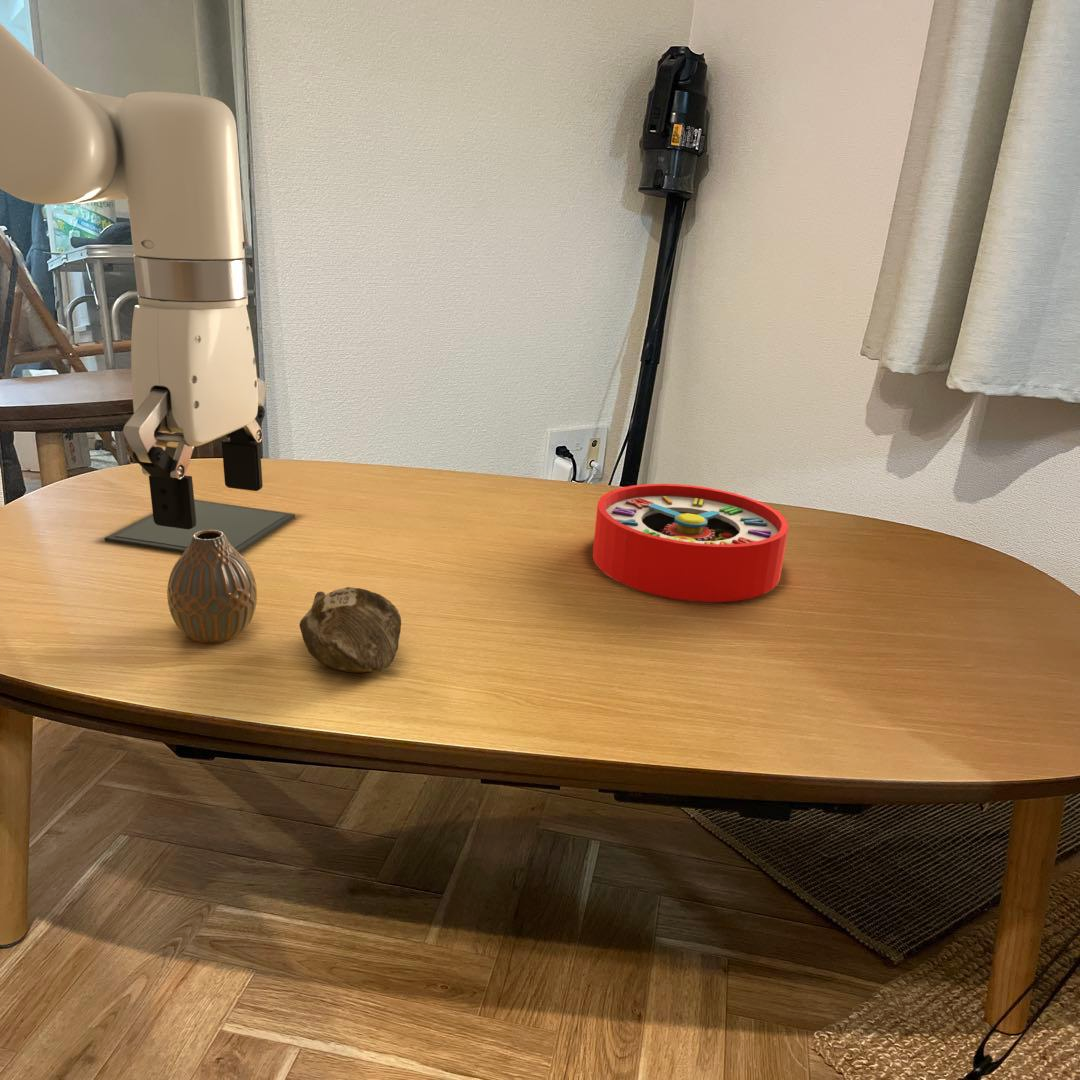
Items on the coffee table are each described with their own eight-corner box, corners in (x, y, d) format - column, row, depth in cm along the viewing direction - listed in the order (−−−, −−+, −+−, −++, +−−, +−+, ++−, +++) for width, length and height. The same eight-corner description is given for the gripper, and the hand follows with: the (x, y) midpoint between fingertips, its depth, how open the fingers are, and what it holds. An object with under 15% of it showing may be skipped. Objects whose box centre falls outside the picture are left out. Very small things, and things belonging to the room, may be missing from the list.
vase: (276, 629, 76) (272, 533, 73) (210, 660, 71) (203, 557, 68) (219, 607, 79) (213, 514, 76) (152, 636, 74) (143, 536, 71)
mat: (104, 542, 92) (104, 537, 92) (184, 502, 105) (184, 497, 104) (229, 561, 89) (228, 556, 89) (295, 518, 102) (295, 513, 102)
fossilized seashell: (303, 598, 77) (275, 673, 68) (341, 543, 74) (317, 614, 65) (379, 639, 79) (362, 716, 70) (419, 587, 76) (406, 661, 68)
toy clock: (709, 562, 81) (558, 502, 95) (701, 620, 83) (554, 553, 97) (826, 522, 94) (678, 474, 108) (816, 573, 96) (672, 520, 110)
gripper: (211, 271, 74) (227, 471, 80) (63, 289, 58) (97, 537, 64) (296, 278, 72) (305, 481, 78) (167, 297, 56) (191, 550, 63)
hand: (211, 506), depth 71 cm, fingers open, 9 cm apart
